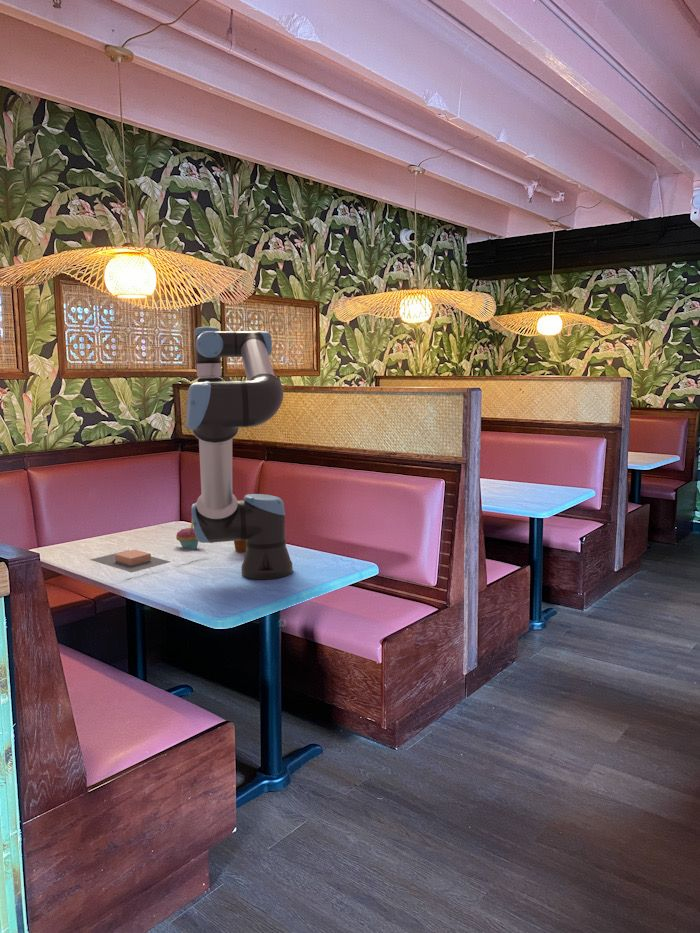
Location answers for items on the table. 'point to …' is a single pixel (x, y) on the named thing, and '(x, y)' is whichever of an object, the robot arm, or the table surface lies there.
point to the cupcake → (187, 538)
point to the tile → (133, 557)
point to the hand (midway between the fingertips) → (213, 452)
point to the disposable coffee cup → (240, 545)
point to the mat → (111, 562)
